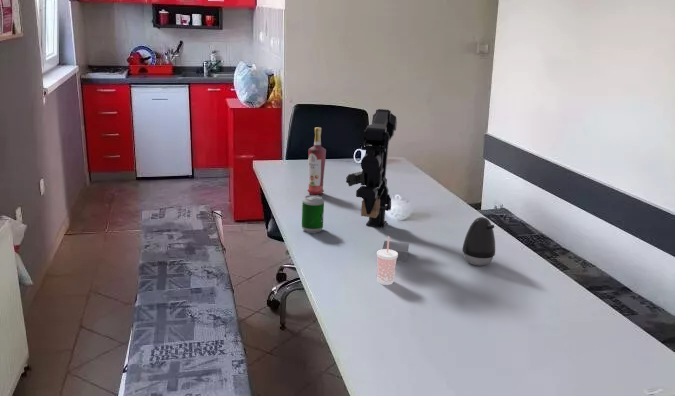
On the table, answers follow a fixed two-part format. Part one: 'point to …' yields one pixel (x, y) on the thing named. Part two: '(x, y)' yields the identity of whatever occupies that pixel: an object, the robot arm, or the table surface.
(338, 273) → the table surface
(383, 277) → the beverage cup
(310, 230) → the soda can
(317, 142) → the liquor
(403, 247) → the slate block
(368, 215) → the walnut cube
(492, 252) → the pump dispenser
